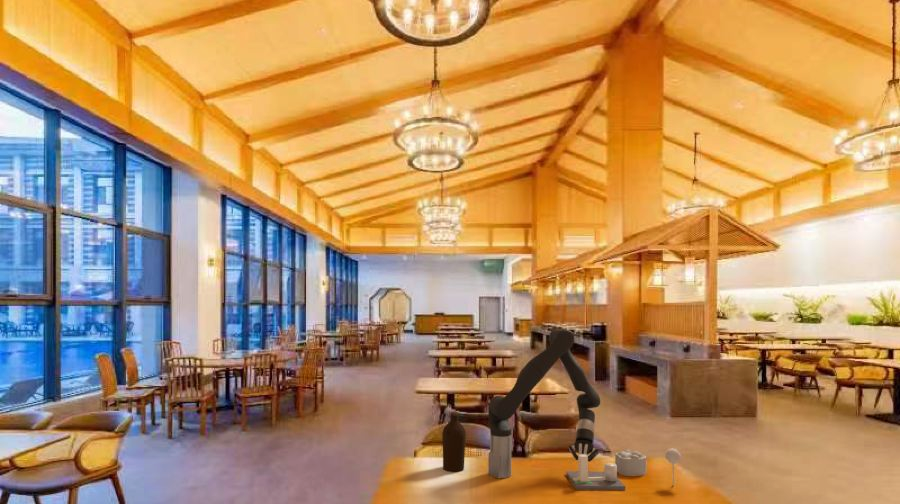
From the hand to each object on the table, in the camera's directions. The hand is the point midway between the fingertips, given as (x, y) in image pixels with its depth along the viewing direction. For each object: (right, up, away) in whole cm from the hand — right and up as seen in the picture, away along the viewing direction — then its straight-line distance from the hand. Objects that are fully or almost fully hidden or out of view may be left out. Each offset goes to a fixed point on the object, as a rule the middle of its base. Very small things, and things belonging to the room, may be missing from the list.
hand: (581, 469), depth 224 cm
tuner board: (+6, -6, +1) cm, 8 cm away
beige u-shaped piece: (+5, -4, -2) cm, 7 cm away
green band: (0, -4, -2) cm, 5 cm away
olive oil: (-54, -6, +15) cm, 56 cm away
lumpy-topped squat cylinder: (+26, -8, +15) cm, 31 cm away
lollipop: (+38, -7, -1) cm, 39 cm away
